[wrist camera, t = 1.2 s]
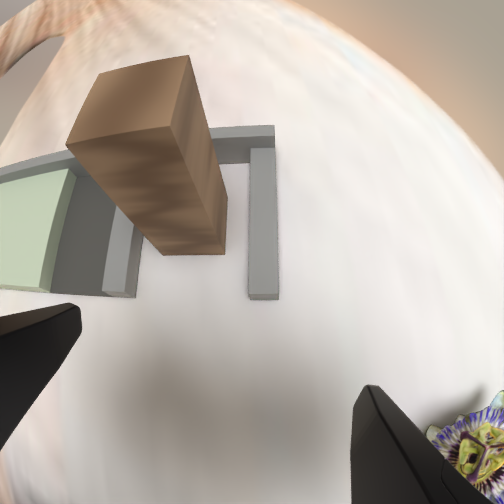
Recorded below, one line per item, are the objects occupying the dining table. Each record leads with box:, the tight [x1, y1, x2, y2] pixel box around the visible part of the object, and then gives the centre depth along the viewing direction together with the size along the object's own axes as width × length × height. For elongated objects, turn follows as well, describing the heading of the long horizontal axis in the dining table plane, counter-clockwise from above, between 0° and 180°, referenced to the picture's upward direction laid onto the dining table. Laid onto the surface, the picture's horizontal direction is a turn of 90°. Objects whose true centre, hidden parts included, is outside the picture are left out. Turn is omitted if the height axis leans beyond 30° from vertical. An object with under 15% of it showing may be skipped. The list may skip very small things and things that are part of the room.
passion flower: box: [426, 390, 504, 504], centre depth 13 cm, size 11×11×12 cm
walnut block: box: [65, 55, 228, 255], centre depth 18 cm, size 5×5×14 cm
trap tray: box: [0, 125, 279, 300], centre depth 24 cm, size 32×13×4 cm, turn 89°
